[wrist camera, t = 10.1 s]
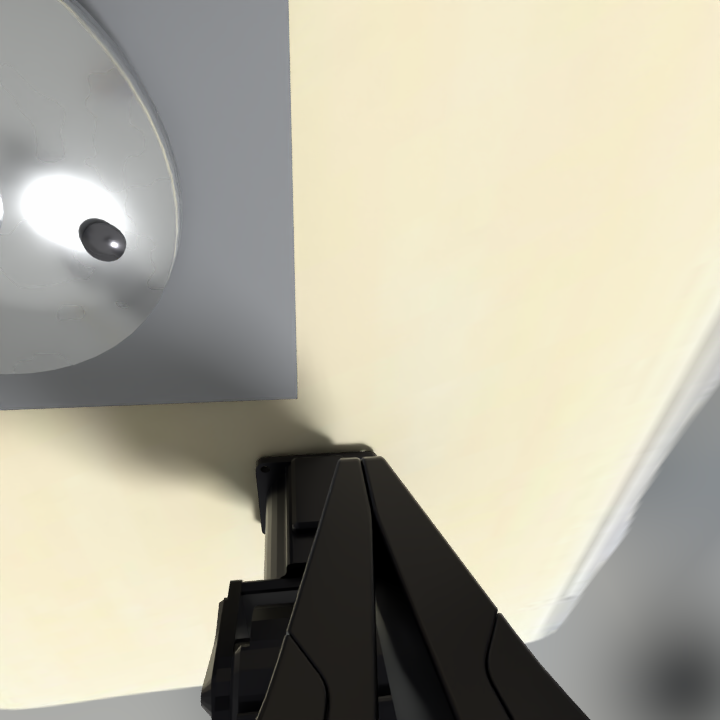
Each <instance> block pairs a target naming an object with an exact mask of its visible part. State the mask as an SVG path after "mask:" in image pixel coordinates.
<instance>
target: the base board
mask: <svg viewBox="0 0 720 720" xmlns="http://www.w3.org/2000/svg"><path fill="white" fill-rule="evenodd" d="M77 1H78V2H79V3H80V4H81V5H82V6H83V7H84V8H85V9H87V11H88V12H89V13H90V14H91V15H92V16H93V17H94V19H95V20H96V21H97V22H98V23H99V24H100V26H101V27H102V28H103V29H104V30H105V31H106V32H107V34H108V35H109V36H110V37H111V38H112V39H113V41H114V42H115V43H116V44H117V46H118V47H119V49H120V50H121V51H122V53H123V54H124V56H125V57H126V59H127V60H128V61H129V63H130V64H131V66H132V67H133V68H134V70H135V71H136V73H137V74H138V76H139V78H140V79H141V81H142V83H143V85H144V86H145V88H146V90H147V92H148V94H149V95H150V97H151V99H152V101H153V102H154V104H155V106H156V108H157V111H158V113H159V115H160V118H161V120H162V122H163V125H164V127H165V129H166V131H167V134H168V136H169V139H170V143H171V146H172V149H173V153H174V156H175V159H176V163H177V166H178V172H179V178H180V184H181V190H182V209H183V222H182V230H181V239H180V244H179V248H178V251H177V255H176V259H175V262H174V265H173V268H172V271H171V273H170V276H169V279H168V281H167V284H166V286H165V288H164V290H163V292H162V294H161V296H160V299H159V301H158V302H157V304H156V305H155V307H154V308H153V310H152V311H151V313H150V314H149V315H148V317H147V318H146V319H145V320H144V322H143V323H142V324H141V325H140V326H139V327H138V328H137V329H136V330H135V331H134V332H133V333H132V334H131V335H129V336H128V337H127V338H125V339H124V340H123V341H121V342H120V343H119V344H117V345H116V346H115V347H113V348H111V349H109V350H107V351H105V352H104V353H102V354H100V355H98V356H96V357H94V358H91V359H88V360H86V361H83V362H81V363H78V364H75V365H71V366H67V367H63V368H59V369H55V370H50V371H43V372H35V373H27V374H0V410H20V409H45V408H71V407H96V406H122V405H148V404H173V403H199V402H224V401H250V400H276V399H297V359H296V315H295V271H294V227H293V183H292V140H291V96H290V52H289V8H288V0H77Z"/></svg>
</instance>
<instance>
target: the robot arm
mask: <svg viewBox="0 0 720 720" xmlns="http://www.w3.org/2000/svg"><path fill="white" fill-rule="evenodd" d="M264 466H267V467H264ZM256 479H257V488H258V498H259V508H260V517H261V527H262V532H263V533H264V534H265V563H264V580H257V581H245V582H243V580H233V581H230V586H229V592H228V598H224V600H223V601H221V602H220V603H219V610H218V620H217V629H216V636H215V642H214V647H213V650H212V654H211V658H210V661H209V665H208V669H207V672H206V676H205V680H204V684H203V687H202V692H201V706H202V707H203V708H204V709H205V711H206V712H207V713H208V714H209V715H210V716H211V718H212V720H590V719H589V718H588V717H587V716H586V714H585V713H583V711H582V710H581V709H580V708H579V707H578V706H577V705H576V704H575V703H574V701H573V700H572V699H571V698H570V697H569V696H568V695H567V694H566V692H565V691H564V690H563V689H562V688H561V687H560V686H559V684H558V683H557V682H556V681H555V680H554V679H553V678H552V676H550V674H549V673H548V672H547V671H546V670H545V668H544V667H543V666H542V665H541V664H540V663H539V662H538V660H537V659H536V658H535V656H534V655H533V654H532V653H531V651H530V650H529V649H528V648H527V646H526V645H525V644H524V643H523V641H522V640H521V639H520V637H519V636H518V635H517V634H516V632H515V631H514V630H513V628H512V627H511V626H510V624H509V623H508V622H507V620H506V619H505V618H504V616H503V615H502V614H501V613H498V614H497V612H498V609H497V607H496V606H495V605H494V603H493V602H492V601H491V599H490V598H489V597H488V595H487V594H486V593H485V591H484V590H483V589H482V587H481V586H480V585H479V583H478V582H477V581H476V579H475V578H474V577H473V576H472V574H471V573H470V572H469V570H468V569H467V568H466V566H465V565H464V564H463V562H462V561H461V560H460V558H459V557H458V556H457V554H456V553H455V552H454V550H453V549H452V548H451V546H450V545H449V544H448V542H447V541H446V540H445V538H444V537H443V536H442V534H441V533H440V532H439V530H438V529H437V528H436V526H435V525H434V524H433V522H432V521H431V520H430V518H429V517H428V516H427V514H426V513H425V512H424V510H423V509H422V508H421V506H420V505H419V504H418V503H417V501H416V500H415V499H414V497H413V496H412V495H411V493H410V492H409V491H408V489H407V488H406V487H405V485H404V484H403V483H402V481H401V480H400V479H399V477H398V476H397V475H396V473H395V472H394V471H393V469H392V468H391V467H390V465H389V464H388V463H387V461H386V460H385V459H384V458H383V457H381V456H377V455H376V454H375V453H374V452H369V451H368V452H350V453H331V454H313V455H295V456H276V457H263V458H260V459H258V460H257V461H256Z"/></svg>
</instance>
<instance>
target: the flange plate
mask: <svg viewBox="0 0 720 720" xmlns="http://www.w3.org/2000/svg"><path fill="white" fill-rule="evenodd" d="M182 222H183V209H182V190H181V184H180V178H179V172H178V166H177V163H176V159H175V156H174V153H173V149H172V146H171V143H170V139H169V136H168V134H167V131H166V129H165V127H164V125H163V122H162V120H161V118H160V115H159V113H158V111H157V108H156V106H155V104H154V102H153V101H152V99H151V97H150V95H149V94H148V92H147V90H146V88H145V86H144V85H143V83H142V81H141V79H140V78H139V76H138V74H137V73H136V71H135V70H134V68H133V67H132V66H131V64H130V63H129V61H128V60H127V59H126V57H125V56H124V54H123V53H122V51H121V50H120V49H119V47H118V46H117V44H116V43H115V42H114V41H113V39H112V38H111V37H110V36H109V35H108V34H107V32H106V31H105V30H104V29H103V28H102V27H101V26H100V24H99V23H98V22H97V21H96V20H95V19H94V17H93V16H92V15H91V14H90V13H89V12H88V11H87V9H85V8H84V7H83V6H82V5H81V4H80V3H79V2H78V1H77V0H0V374H27V373H35V372H43V371H50V370H55V369H59V368H63V367H67V366H71V365H75V364H78V363H81V362H83V361H86V360H88V359H91V358H94V357H96V356H98V355H100V354H102V353H104V352H105V351H107V350H109V349H111V348H113V347H115V346H116V345H117V344H119V343H120V342H121V341H123V340H124V339H125V338H127V337H128V336H129V335H131V334H132V333H133V332H134V331H135V330H136V329H137V328H138V327H139V326H140V325H141V324H142V323H143V322H144V320H145V319H146V318H147V317H148V315H149V314H150V313H151V311H152V310H153V308H154V307H155V305H156V304H157V302H158V301H159V299H160V296H161V294H162V292H163V290H164V288H165V286H166V284H167V281H168V279H169V276H170V273H171V271H172V268H173V265H174V262H175V259H176V255H177V251H178V248H179V244H180V239H181V230H182Z"/></svg>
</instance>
